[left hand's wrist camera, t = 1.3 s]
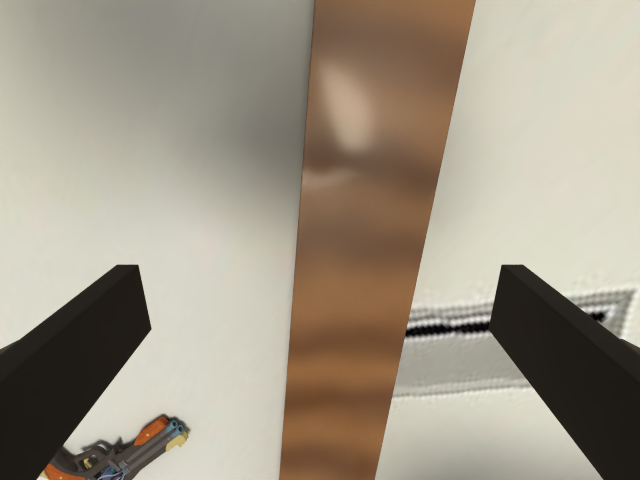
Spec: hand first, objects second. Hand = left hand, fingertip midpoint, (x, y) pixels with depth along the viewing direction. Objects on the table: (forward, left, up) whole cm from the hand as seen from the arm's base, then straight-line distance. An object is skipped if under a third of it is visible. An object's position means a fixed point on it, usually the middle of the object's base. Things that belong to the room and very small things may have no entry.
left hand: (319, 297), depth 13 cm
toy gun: (+30, -30, -21) cm, 48 cm away
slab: (+13, +1, -21) cm, 25 cm away
